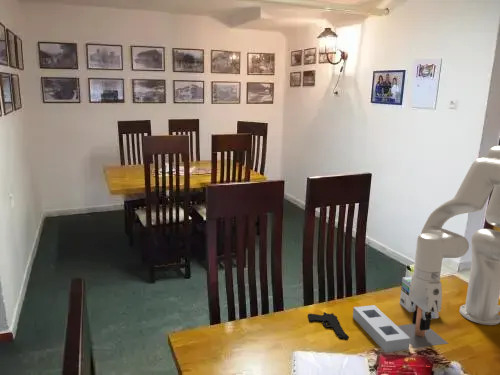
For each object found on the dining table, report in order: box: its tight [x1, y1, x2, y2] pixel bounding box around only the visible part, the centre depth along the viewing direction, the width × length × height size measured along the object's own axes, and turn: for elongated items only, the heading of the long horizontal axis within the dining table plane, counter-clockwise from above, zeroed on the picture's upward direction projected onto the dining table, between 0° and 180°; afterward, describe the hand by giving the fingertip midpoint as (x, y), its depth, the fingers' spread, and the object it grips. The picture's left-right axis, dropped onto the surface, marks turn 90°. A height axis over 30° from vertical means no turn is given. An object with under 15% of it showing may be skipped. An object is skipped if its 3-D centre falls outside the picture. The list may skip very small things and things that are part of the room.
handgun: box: [307, 312, 350, 341], centre depth 130 cm, size 16×1×10 cm
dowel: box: [415, 307, 425, 337], centre depth 125 cm, size 3×3×10 cm
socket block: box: [352, 304, 411, 353], centre depth 126 cm, size 8×20×4 cm, turn 14°
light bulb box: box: [399, 276, 413, 313], centre depth 142 cm, size 11×7×11 cm, turn 102°
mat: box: [397, 323, 449, 349], centre depth 126 cm, size 12×12×1 cm
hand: (420, 325), depth 125 cm, fingers closed on dowel, 3 cm apart
